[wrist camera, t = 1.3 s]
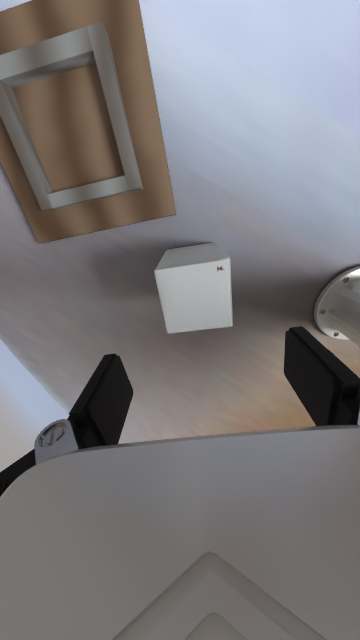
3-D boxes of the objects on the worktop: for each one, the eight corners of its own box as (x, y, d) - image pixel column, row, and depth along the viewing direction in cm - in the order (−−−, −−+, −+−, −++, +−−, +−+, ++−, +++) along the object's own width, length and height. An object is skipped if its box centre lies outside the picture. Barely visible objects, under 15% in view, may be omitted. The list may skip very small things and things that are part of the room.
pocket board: (134, -21, 19) (127, -58, 16) (176, 214, 28) (175, 213, 25) (-48, 42, 21) (-80, 19, 19) (44, 242, 30) (30, 244, 27)
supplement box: (164, 248, 30) (151, 267, 19) (214, 241, 29) (233, 255, 18) (172, 295, 33) (165, 335, 22) (217, 290, 32) (234, 328, 21)
